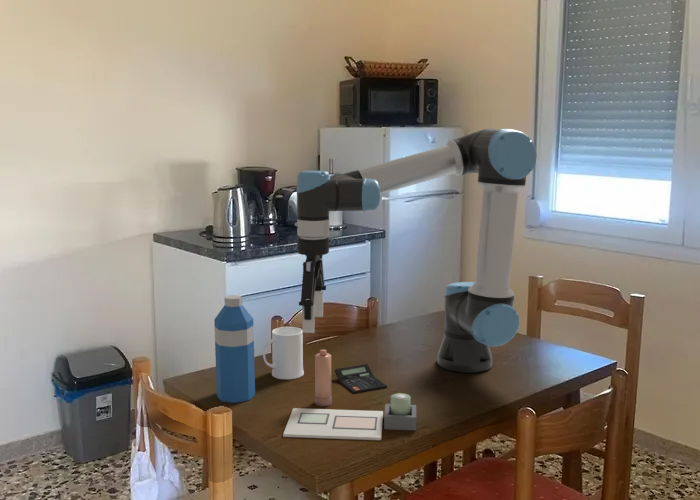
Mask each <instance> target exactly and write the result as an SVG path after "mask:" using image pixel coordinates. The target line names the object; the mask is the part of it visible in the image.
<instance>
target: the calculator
mask: <svg viewBox="0 0 700 500" xmlns="http://www.w3.org/2000/svg"><path fill="white" fill-rule="evenodd" d="M334 373H335V376H336V377H337V379H338V381H339V384H341V385H342V386H343V387H345V388H346V390H348V391H349V392H351V393H352V394H360V393H366V392H371V391H377V390H384V389H387V388H388V385H386V384H385V383H383V382H382V381H381V380H380V379H378V378H377V377H375V375H374V374H373V373H372V371H371V369H370V367H369V365H368V363H364V364H359V365H353V366H348V367H347V366H345V367H341V368H336V369H335V370H334Z"/></svg>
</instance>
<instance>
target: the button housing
mask: <svg viewBox="0 0 700 500" xmlns="http://www.w3.org/2000/svg"><path fill="white" fill-rule="evenodd" d="M383 419H384V420H383V421H384V422H383V427H384V428H383V430H389V431H393V430H394V431H417V405H416V404H410V415H391V403H384V414H383Z"/></svg>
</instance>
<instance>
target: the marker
mask: <svg viewBox="0 0 700 500" xmlns="http://www.w3.org/2000/svg"><path fill="white" fill-rule="evenodd" d="M314 369H315V371H314V374H315V376H314V378H315V379H314V382H315V385H314V387H315V389H314V390H315V391H314V392H315V393H314V394H315V395H314V404H315V406H317V407H329V406H331V405H332V404H333V403H332V402H333V399H332V398H333V397H332V355H331V354H330V353H329V352H327V349H325V348H324V349H319V353H316V354H315V355H314Z"/></svg>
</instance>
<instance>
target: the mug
mask: <svg viewBox="0 0 700 500" xmlns="http://www.w3.org/2000/svg"><path fill="white" fill-rule="evenodd" d="M303 335H304V333H302V328H300V327H296V326H280V327H277V328H274V329H272V331H271V339H270V340H269V341H267V343H266V344H265V345H264V348H263V351H262V358H263V361H264V363H265V364H266V366H268V367H269V368H272V370H271V376H272V377H273V378H275V379H277V380H284V381H285V380H295V379H298V378H302V377H303V376H304V374H305V372H304V360H303V357H304V352H303V351H304V350H303V347H304V345H303V341H304V339H303V338H304V337H303ZM271 344H272V345H271ZM270 345H271V347H272V349H271V350H272V351H271V353H272V355H271V356H272V359H271V360H272V363H269V362H268V361H267V357H266V352H267V349H268V348H269V347H270Z"/></svg>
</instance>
